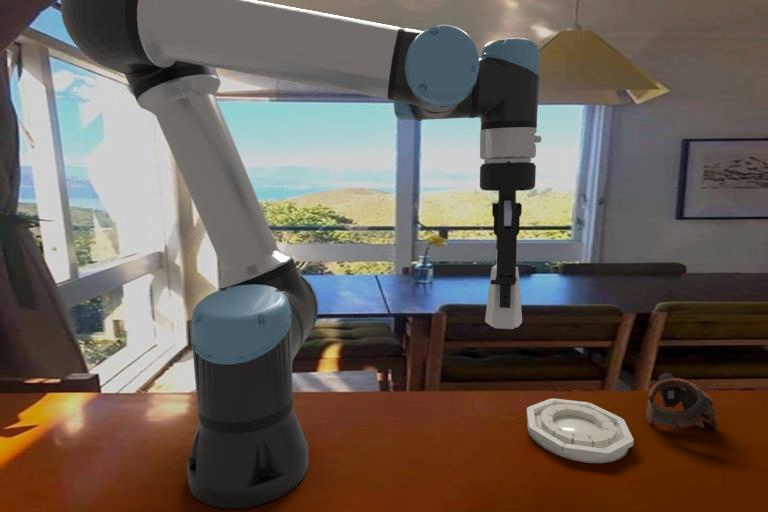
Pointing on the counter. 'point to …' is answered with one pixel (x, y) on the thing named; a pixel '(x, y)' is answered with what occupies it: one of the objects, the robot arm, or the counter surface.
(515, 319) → the pepper shaker
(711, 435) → the counter surface
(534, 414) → the dish
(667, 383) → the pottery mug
